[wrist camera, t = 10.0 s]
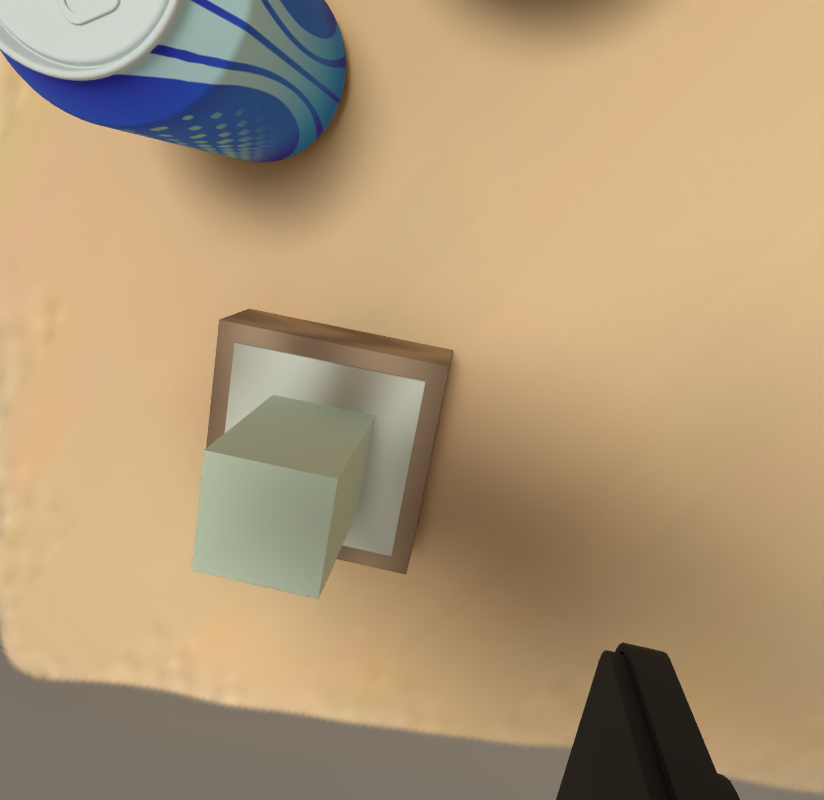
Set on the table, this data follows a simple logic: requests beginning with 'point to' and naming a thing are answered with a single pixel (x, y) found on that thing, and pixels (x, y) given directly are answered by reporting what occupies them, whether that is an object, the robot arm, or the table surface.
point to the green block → (281, 495)
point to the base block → (350, 390)
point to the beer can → (185, 68)
